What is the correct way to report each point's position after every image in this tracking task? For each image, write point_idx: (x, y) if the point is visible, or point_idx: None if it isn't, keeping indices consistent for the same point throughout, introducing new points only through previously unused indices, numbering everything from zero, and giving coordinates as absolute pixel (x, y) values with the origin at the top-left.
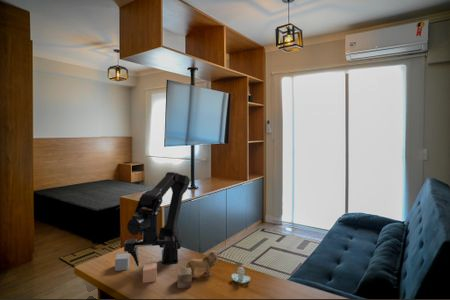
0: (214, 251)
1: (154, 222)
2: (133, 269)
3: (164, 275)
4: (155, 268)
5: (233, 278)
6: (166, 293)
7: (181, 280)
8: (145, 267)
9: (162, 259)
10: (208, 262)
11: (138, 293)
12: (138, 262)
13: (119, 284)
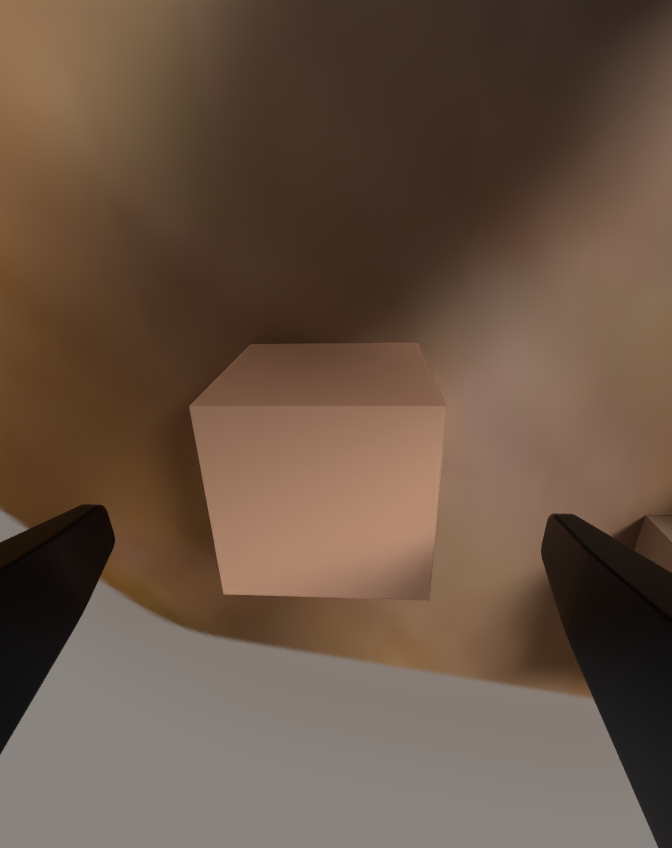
0: None
1: None
2: (38, 110)
3: (517, 377)
4: (414, 583)
5: None
6: (492, 662)
7: None
8: (246, 530)
9: (603, 702)
10: None
11: (260, 625)
12: (73, 582)
13: (34, 476)
